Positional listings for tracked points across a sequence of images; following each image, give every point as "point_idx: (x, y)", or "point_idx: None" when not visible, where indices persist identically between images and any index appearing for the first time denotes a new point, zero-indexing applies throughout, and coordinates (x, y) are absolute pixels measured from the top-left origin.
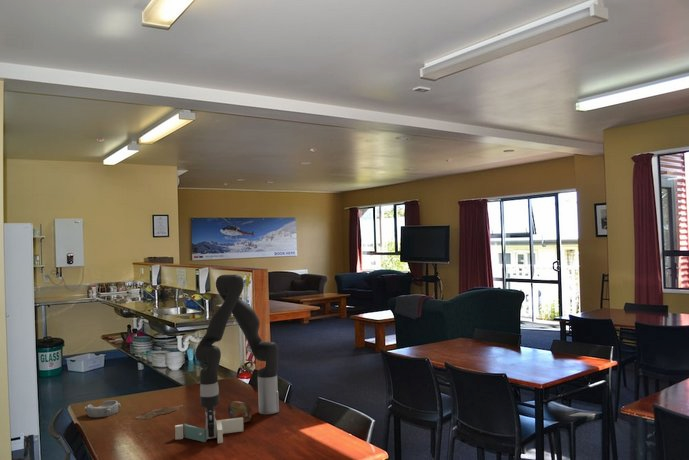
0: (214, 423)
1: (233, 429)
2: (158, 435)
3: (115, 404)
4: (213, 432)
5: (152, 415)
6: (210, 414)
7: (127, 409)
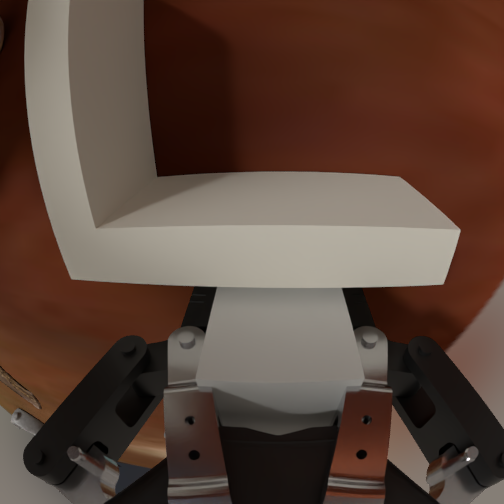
0: (353, 355)
1: (132, 68)
2: (150, 419)
3: (24, 428)
4: (349, 292)
5: (14, 383)
6: (472, 497)
7: (7, 396)
